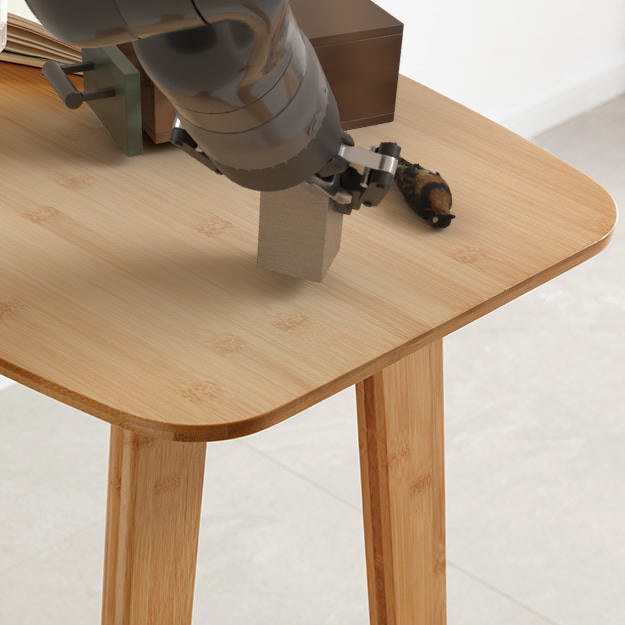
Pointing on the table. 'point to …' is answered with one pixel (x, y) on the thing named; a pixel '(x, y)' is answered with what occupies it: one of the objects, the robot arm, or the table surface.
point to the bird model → (425, 192)
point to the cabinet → (355, 55)
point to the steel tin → (298, 233)
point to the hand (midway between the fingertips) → (311, 191)
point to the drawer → (116, 95)
